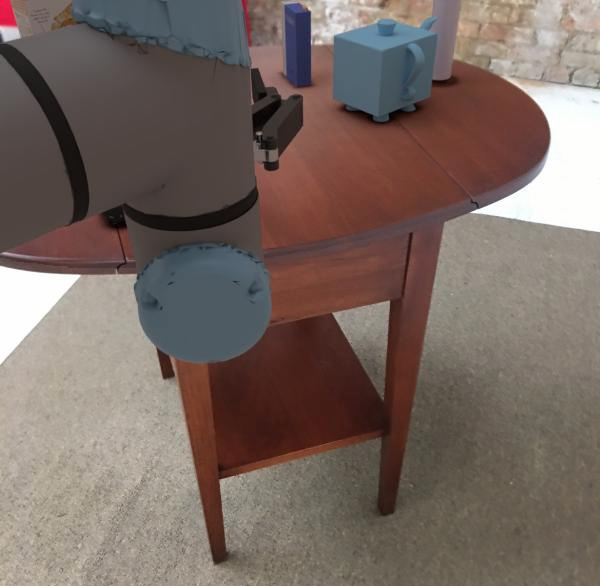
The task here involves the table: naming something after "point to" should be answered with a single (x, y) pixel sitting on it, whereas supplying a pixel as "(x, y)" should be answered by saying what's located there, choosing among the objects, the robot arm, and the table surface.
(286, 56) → the walkman
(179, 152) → the robot arm
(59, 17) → the cracker box
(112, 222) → the toy car
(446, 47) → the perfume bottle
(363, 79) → the teapot
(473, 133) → the table surface
